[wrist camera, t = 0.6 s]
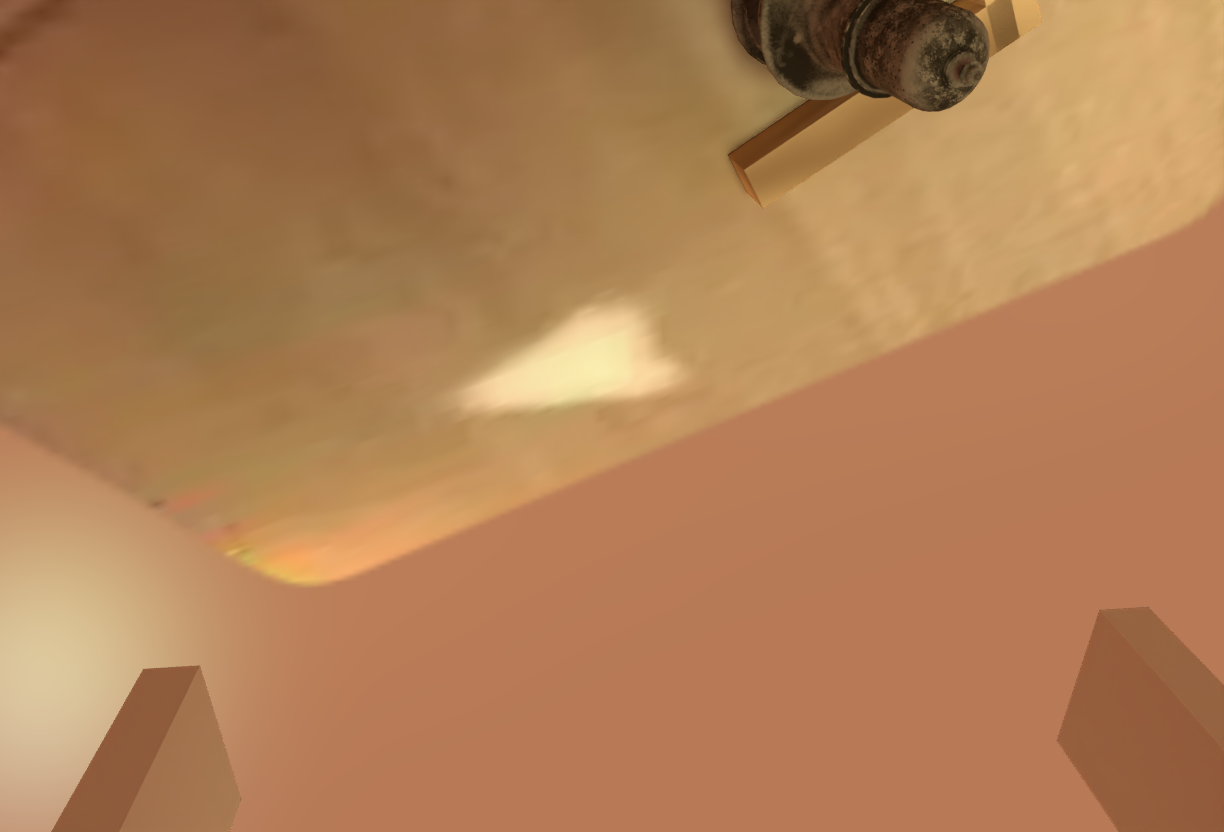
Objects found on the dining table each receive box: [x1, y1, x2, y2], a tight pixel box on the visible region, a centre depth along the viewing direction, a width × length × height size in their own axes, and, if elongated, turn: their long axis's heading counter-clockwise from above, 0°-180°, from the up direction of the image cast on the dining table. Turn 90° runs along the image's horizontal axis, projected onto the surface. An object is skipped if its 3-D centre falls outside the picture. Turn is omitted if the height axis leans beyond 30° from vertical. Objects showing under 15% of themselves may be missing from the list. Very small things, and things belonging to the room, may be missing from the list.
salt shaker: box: [731, 0, 990, 112], centre depth 28 cm, size 6×6×12 cm
